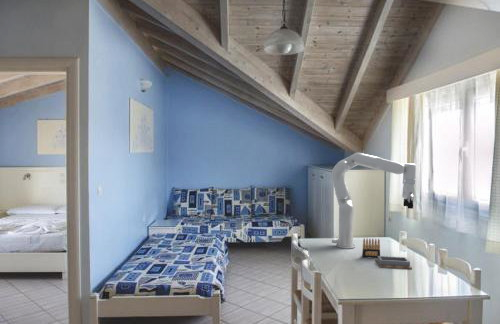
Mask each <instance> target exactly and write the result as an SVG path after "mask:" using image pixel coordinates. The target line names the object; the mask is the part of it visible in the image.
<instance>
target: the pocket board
mask: <svg viewBox="0 0 500 324" xmlns="http://www.w3.org/2000/svg"><path fill="white" fill-rule="evenodd" d="M375 262H376V263H377V264H378V266H379V268H382V269H383V268H384V269H398V270H399V269H402V270H403V269H404V270H412V269H413V267H412V266H411V261H410V260H409V259H408V258H407V257H404V256H385V255H384V256H382V255H380V256H378V258H375Z"/></svg>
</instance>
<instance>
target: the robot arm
mask: <svg viewBox="0 0 500 324" xmlns="http://www.w3.org/2000/svg"><path fill="white" fill-rule="evenodd" d="M357 166H362V167H365V168H369V169H373V170H376V171H382V172H388V173H391V174H395V175H401V174H402V185H403V186H402V195H401V196H402V199H403V207H407V209H414V197H415V185H416V169H417V168H416V167H417V166H416V164H415V163H414V162H413V163H412V162H409V163H407V162H406V163H400V162H397V161H393V160H390V159H389V160H388V159H385V158H382V157H379V156H376V155H370V154H367V153H364V152H359V151H358V152H355V153H353V154H351V155H349V156H348V157H345V158H343V159H341V160H339V161H338V162H337V163H336V164H335V165H334V167H333V169H332V171H331V178H332V179H331V181H332V183H333V188H334V192H335V196H336V197H335V198H336V200H337V203H338V238H337V239H336V240H335V239H331V243H333V244H335V246H336V247H337V248H340V249H348V250H349V249H355V247H356V246H355V244H354V240H353V239H354V204H353V201H352V197H351V193H350V191H349V188H348V185H347V182H346V178H345V174H346V172H348V171H350V170H351V169H353V168H355V167H357Z"/></svg>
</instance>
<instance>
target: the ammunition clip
mask: <svg viewBox="0 0 500 324" xmlns="http://www.w3.org/2000/svg"><path fill="white" fill-rule="evenodd" d="M380 244H381V243H380V238H378V239H377V238H375V239H374V238H372V239H371V238H369V239H368V238H366V239H365V238H363V241H362V252H361V253H362V254H361V257H362V258H368V257H371V258H374V259H378V256H381V245H380Z"/></svg>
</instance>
